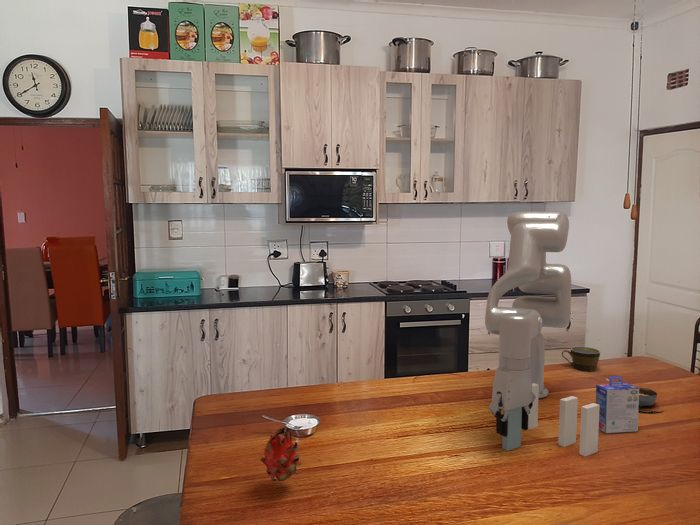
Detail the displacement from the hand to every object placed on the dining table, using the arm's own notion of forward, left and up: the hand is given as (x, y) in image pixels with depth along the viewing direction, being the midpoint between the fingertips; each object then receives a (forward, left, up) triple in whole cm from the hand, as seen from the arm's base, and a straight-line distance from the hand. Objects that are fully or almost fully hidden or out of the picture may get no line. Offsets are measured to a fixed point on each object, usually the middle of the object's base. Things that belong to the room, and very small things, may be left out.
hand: (512, 431), depth 129 cm
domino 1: (0, 0, -4) cm, 4 cm away
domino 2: (-6, +14, -4) cm, 16 cm away
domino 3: (+6, +14, -4) cm, 16 cm away
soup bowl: (0, +56, -5) cm, 56 cm away
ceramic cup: (-28, +69, -5) cm, 75 cm away
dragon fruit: (-15, -57, -4) cm, 59 cm away
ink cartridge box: (+7, +34, -5) cm, 35 cm away
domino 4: (+12, +14, -4) cm, 19 cm away
